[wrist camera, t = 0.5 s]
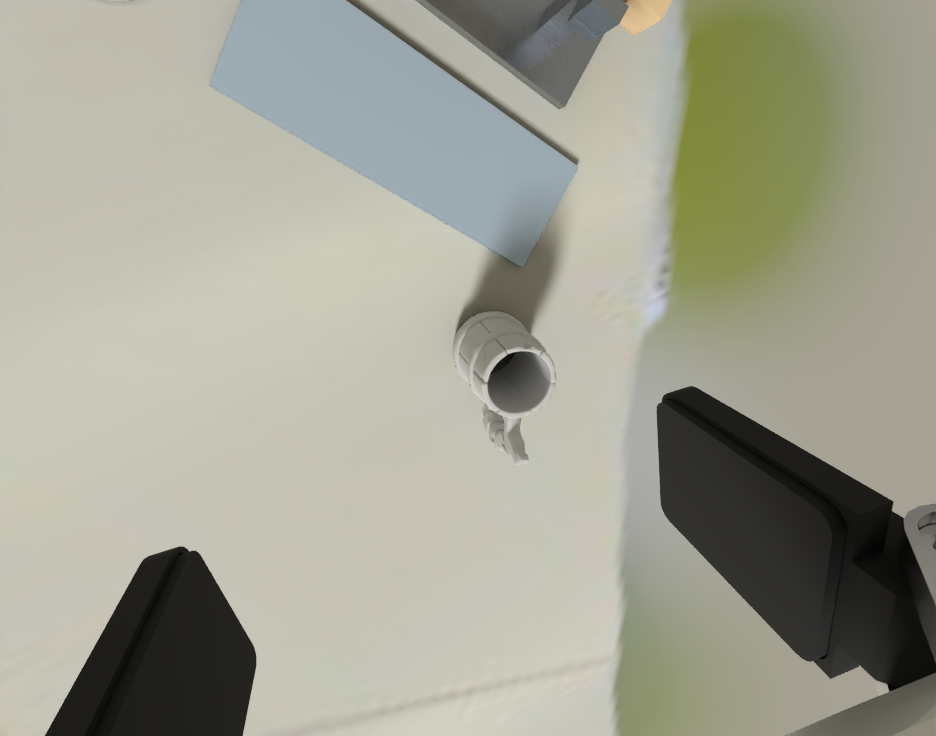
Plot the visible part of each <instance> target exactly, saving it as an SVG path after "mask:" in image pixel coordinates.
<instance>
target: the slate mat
mask: <svg viewBox="0 0 936 736" xmlns="http://www.w3.org/2000/svg"><path fill="white" fill-rule="evenodd" d="M209 86H211V87H212V88H214V89H215V90H217V91H219V92H221V93H222V94H224V95H226V96H227V97H229V98H231V99H233V100H234V101H236V102H238V103H239V104H241V105H243V106H245V107H246V108H248V109H250V110H252V111H253V112H255V113H257V114H258V115H260V116H262V117H264V118H265V119H267V120H269V121H270V122H272V123H274V124H276V125H277V126H279V127H281V128H283V129H284V130H286V131H288V132H289V133H291V134H293V135H295V136H296V137H298V138H300V139H301V140H303V141H305V142H307V143H308V144H310V145H312V146H313V147H315V148H317V149H319V150H320V151H322V152H324V153H326V154H327V155H329V156H331V157H332V158H334V159H336V160H338V161H339V162H341V163H343V164H344V165H346V166H348V167H350V168H351V169H353V170H355V171H357V172H358V173H360V174H362V175H363V176H365V177H367V178H369V179H370V180H372V181H374V182H375V183H377V184H379V185H381V186H382V187H384V188H386V189H387V190H389V191H391V192H393V193H394V194H396V195H398V196H400V197H401V198H403V199H405V200H406V201H408V202H410V203H412V204H413V205H415V206H417V207H418V208H420V209H422V210H424V211H425V212H427V213H429V214H430V215H432V216H434V217H436V218H437V219H439V220H441V221H443V222H444V223H446V224H448V225H449V226H451V227H453V228H455V229H456V230H458V231H460V232H461V233H463V234H465V235H467V236H468V237H470V238H472V239H474V240H475V241H477V242H479V243H480V244H482V245H484V246H486V247H487V248H489V249H491V250H492V251H494V252H496V253H498V254H499V255H501V256H503V257H504V258H506V259H508V260H510V261H511V262H513V263H515V264H517V265H518V266H520V267H522V268H523V266H524V264H525V262H526V261H527V259H528V257H529V255H530V254H531V252H532V250H533V248H534V246H535V245H536V243H537V241H538V239H539V237H540V236H541V234H542V232H543V230H544V229H545V227H546V225H547V223H548V221H549V220H550V218H551V216H552V214H553V213H554V211H555V209H556V207H557V205H558V204H559V202H560V200H561V198H562V197H563V195H564V193H565V191H566V189H567V188H568V186H569V184H570V182H571V181H572V179H573V177H574V175H575V173H576V172H577V170H578V168H579V167H578V166H577V165H575V164H574V163H573V162H571V161H570V160H568V159H567V158H566V157H564V156H563V155H561V154H560V153H559V152H557V151H556V150H554V149H553V148H552V147H550V146H549V145H547V144H546V143H545V142H543V141H542V140H540V139H539V138H538V137H536V136H535V135H533V134H532V133H531V132H529V131H528V130H526V129H525V128H524V127H522V126H521V125H519V124H518V123H517V122H515V121H514V120H513V119H511V118H510V117H508V116H507V115H506V114H504V113H503V112H501V111H500V110H499V109H497V108H496V107H494V106H493V105H492V104H490V103H489V102H487V101H486V100H485V99H483V98H482V97H480V96H479V95H478V94H476V93H475V92H473V91H472V90H471V89H469V88H468V87H466V86H465V85H464V84H462V83H461V82H459V81H458V80H457V79H455V78H454V77H452V76H451V75H450V74H448V73H447V72H445V71H444V70H443V69H441V68H440V67H439V66H437V65H436V64H434V63H433V62H432V61H430V60H429V59H427V58H426V57H425V56H423V55H422V54H420V53H419V52H418V51H416V50H415V49H413V48H412V47H411V46H409V45H408V44H406V43H405V42H404V41H402V40H401V39H399V38H398V37H397V36H395V35H394V34H392V33H391V32H390V31H388V30H387V29H385V28H384V27H383V26H381V25H380V24H378V23H377V22H376V21H374V20H373V19H372V18H370V17H369V16H367V15H366V14H365V13H363V12H362V11H360V10H359V9H358V8H356V7H355V6H353V5H352V4H351V3H349V2H348V1H346V0H241V3H240V5H239V8H238V11H237V13H236V16H235V19H234V21H233V24H232V27H231V29H230V32H229V35H228V37H227V40H226V43H225V45H224V48H223V51H222V53H221V56H220V59H219V61H218V64H217V67H216V69H215V72H214V75H213V77H212V80H211V83H210V85H209Z"/></svg>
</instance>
